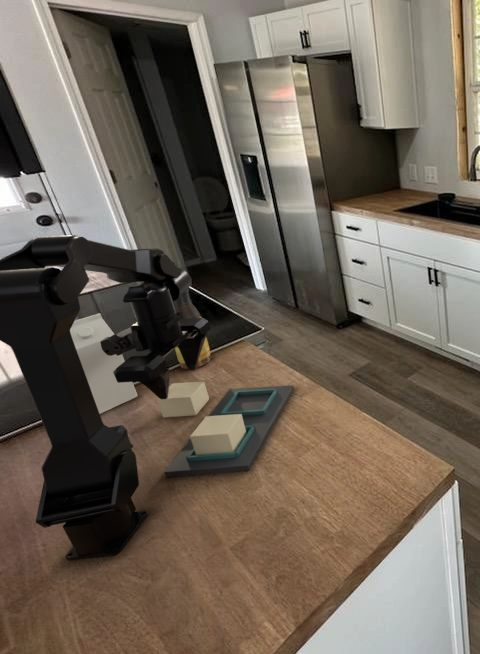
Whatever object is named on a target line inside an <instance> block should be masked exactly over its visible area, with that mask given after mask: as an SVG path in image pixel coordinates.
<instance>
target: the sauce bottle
mask: <svg viewBox="0 0 480 654" xmlns="http://www.w3.org/2000/svg"><path fill="white" fill-rule="evenodd" d="M189 288H190V287H189ZM189 288H188V289H187V290H186V291H185V292H184V293H183V294H182V295H181V296H180V297H179V298H178V299H177V300H175V301H174V302H173V304H174V307H175V310H176V313H180V312H182V314H183V318H182V319H186V318H203V317H202V315H201V314H200V312H199V311H198V309H197V308H196V306H195V305H194V304H193V302H192V299H191V297H190V293H189V291H190V289H189ZM174 350H175V355H176V358H177V361H178V363H179V366H180V368H181V369H184V370H189V369H188V368H187V366H186V364H185V362H184V359H183V357H182V354H181V352H180V350H179V348H178V347H176V348H175V349H174ZM211 358H212V356H211V349H210V345H209V341H208V336H206V338H205V341H204V344H203V347H202V350H201V353H200V356H199V359H198V363H197V366H196V369H197V368H201V367H203V366H205V365H206V364H208V363H209V362H210V360H211Z"/></svg>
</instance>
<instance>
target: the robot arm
mask: <svg viewBox="0 0 480 654" xmlns="http://www.w3.org/2000/svg"><path fill="white" fill-rule="evenodd" d="M60 268H62V269H60ZM87 272H95V273H101V274H106V278H107V279H109V280H111V281H114V282H116V283H119V284H129V283H140V284H137V285H135V286H129V287H128V290H127V292H126V293H125V294H124V295H123V298H122V302H123V303H125V304H126V303H130V306H131V310H132V311H133V315H134V317H135V320H136V322H135V323H133V324H132V325H131V327H128V328H125V329H124V330H121V331H119V332H118V333H116V334H115V333H114V335H112V336H111V337H106V338H105V339H103V340H102V341H100V343H101V347H102V350H103V351H104V352H105V353H106V355H109V356H112V355H115V354H116V355H117V356H119V355H121V354H122V355H123V354H124V353H126V352H130V351H132V350H135V352H137V353H139V352H144V351H148V352H149V353H147V355H133V356H132V355H131V356H130V357H128V358H127V359H126V360H124V361H125V362H124V363H122V364H121V365H120V366H118V367H117V368H116V369H115V371H114V372H113V373H114V375H115V378H116V380H117V382H118V383H121V382H133V383H136V382H138V383H140V384H142V385H143V386H144V387H146V388H147V389H148V390H149V391H150V392H151V393H153V394H154V395H155V396H156V397H157V398H158V397H159V398H160V399H167V398H168V392H169V387H170V368H167V366H168V363H167V360H166V357H167V356H168V355H169V354H170V353H171V352H173V351H174V350H175V348H176V347H178V348H179V350H180V352H181V354H182V357H183V359H184V362H185V364H186V366H187V368H188V369H187V370H188V371H190V372H191V371H192V372H194V371H196V369H197V368H196V366H197V363H198V359H199V356H200V353H201V350H202V347H203V344H204V341H205V338H206V337H208V332H209V331H210V330H211V325H210V322H209V321H208V319H205V318H204V317H202V318H186V319H182V318H183V314H182V312H180V313H176V310H175V307H174V304H173V302H174V301H175V300H177V299H178V298H179V297H180V296H181V295H182V294H183V293H184V292H185V291H186V290H187V289H188V288H190V287H191V285H192V277H191V275H190V274H189V273H188V272H187V271H186V270H184V269H182V268H180V267H178V266H177V265H176V262H174V261H172V259H171V258H170V257H169V256H168V255H167V254H165V252H164V251H163V250H162V249H160V248H139V249H137V248H136V249H128V248H124V247H120V246H116V245H111V244H107V243H103V242H98V241H95V240H90V239H87V238H86V237H84V236H80V235H79V236H78V235H77V234H70V235H51V236H50V235H47V236H38V237H36V238H31V239H30V240H28V242H26V244H25V245H23V246H22V247H21V249H18V250H16V251H14V252H13V253H10V254H8V255H5V256H3V257H2V258H0V342H2V343H3V344H5V345H7V346H9V348H11V350H12V352H13V354H14V357H15V360H16V362H17V365H18V366H19V369H20V372H21V374H22V377H23V378H24V382H25V383H26V386H27V389H28V391H29V393H30V395H31V398H32V401H33V403H34V405H35V407H36V411H37V413H38V415H39V418H40V419H41V423H42V425H43V427H44V429H45V432H46V435H47V436H48V437H47V438H48V439H49V441H50V445H51V447H50V450H49V451H48V453H47V455H46V458H45V460H44V461H43V464H42V466H41V472H42V476H43V484H42V488H41V493H40V498H39V503H38V508H37V512H36V518H35V523H36V524H37V525H39V526H40V527H42V528H49V527H51V526H56V525H60V524H62V529H63V530H64V532H65V534H66V536H67V538H68V540H69V541H70V544H71V546H72V547H71V548H70V550H69V551H68V552H67V553H66V554H65V556H64V559H65V560H66V561H76V560H84V559H93V558H103V557H104V558H105V557H113V556H116V555H118V554H120V552H122V550H123V549H124V547H125V546H126V545H127V543H128V542H129V541H130V539H131V538H132V537H133V536H134V534H135V533H136V531H137V530H138V529H139V528H140V526H141V525H142V523H143V522H144V521H145V519H147V516H148V515H149V513H148V511H147V510H139V511H137V508H136V506H135V503H134V501H133V499H132V497H133V495H134V494H135V492H136V491H137V489H138V487H139V486H140V481H139V472H138V464H137V463H138V462H137V457H136V454H135V452H134V451H133V448H134V445H133V444H132V443H131V440H130V437H129V433H128V430H127V428H126V427H125V426H124V425H122V424H120V425H114V426H107V425H106V424H104V422H103V420H102V417H101V414H99V411H98V408H97V406H96V403H95V400H94V397H93V394H92V392H91V389H90V386H89V383H88V381H87V378H86V375H85V372H84V370H83V367H82V364H81V361H80V358H79V356H78V353H77V350H76V347H75V345H74V342H73V339H72V336H71V333H70V329H71V327H72V325H73V323H74V321H76V320H77V316H78V315H79V313H80V311H81V304H80V300H79V296H80V295H81V293H82V292H83V290H84V289H85V288H86V286H87V285H88V283H89V282H90V278H89V275H88V273H87ZM141 282H142V283H141Z"/></svg>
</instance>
